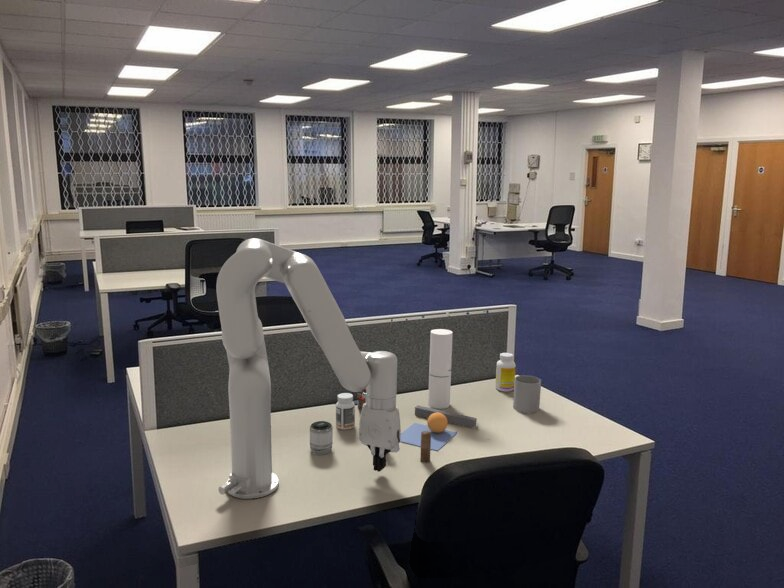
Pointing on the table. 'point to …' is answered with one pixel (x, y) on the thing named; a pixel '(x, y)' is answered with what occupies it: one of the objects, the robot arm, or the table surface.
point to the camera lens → (321, 437)
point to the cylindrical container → (440, 368)
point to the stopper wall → (447, 416)
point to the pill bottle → (345, 411)
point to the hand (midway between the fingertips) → (379, 468)
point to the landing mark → (414, 436)
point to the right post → (425, 446)
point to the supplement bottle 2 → (505, 373)
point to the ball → (437, 422)
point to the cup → (527, 394)
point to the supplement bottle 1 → (361, 399)
